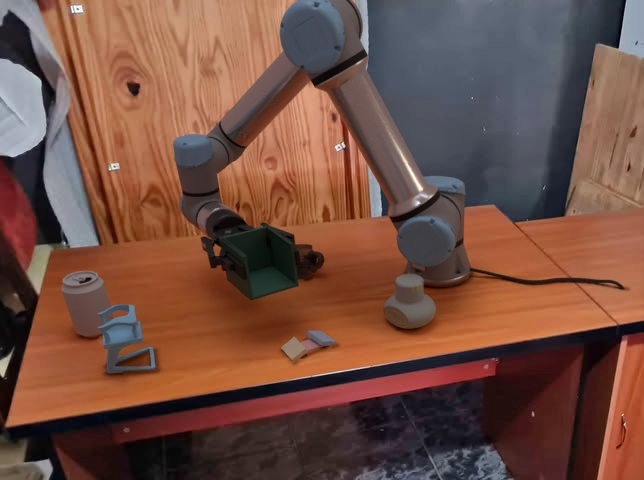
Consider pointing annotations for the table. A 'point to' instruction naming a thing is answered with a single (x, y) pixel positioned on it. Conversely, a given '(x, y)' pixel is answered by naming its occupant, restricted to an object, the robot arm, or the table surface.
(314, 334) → the blue packet
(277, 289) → the open box
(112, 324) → the chair
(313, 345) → the block
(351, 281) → the table surface
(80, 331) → the can
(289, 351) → the block
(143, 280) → the table surface
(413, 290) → the air freshener
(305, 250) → the pottery mug
